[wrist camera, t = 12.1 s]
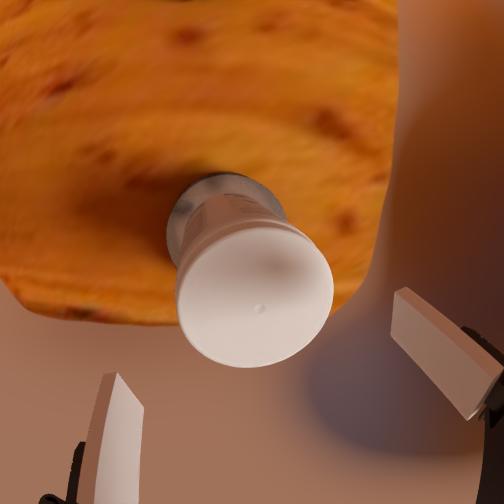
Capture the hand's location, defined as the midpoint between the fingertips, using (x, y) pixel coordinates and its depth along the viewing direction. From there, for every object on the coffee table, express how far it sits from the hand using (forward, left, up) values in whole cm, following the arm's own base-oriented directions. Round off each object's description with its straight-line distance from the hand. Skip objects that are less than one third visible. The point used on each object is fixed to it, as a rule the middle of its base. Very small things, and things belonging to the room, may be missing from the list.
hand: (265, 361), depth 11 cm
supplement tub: (0, 0, -19) cm, 19 cm away
